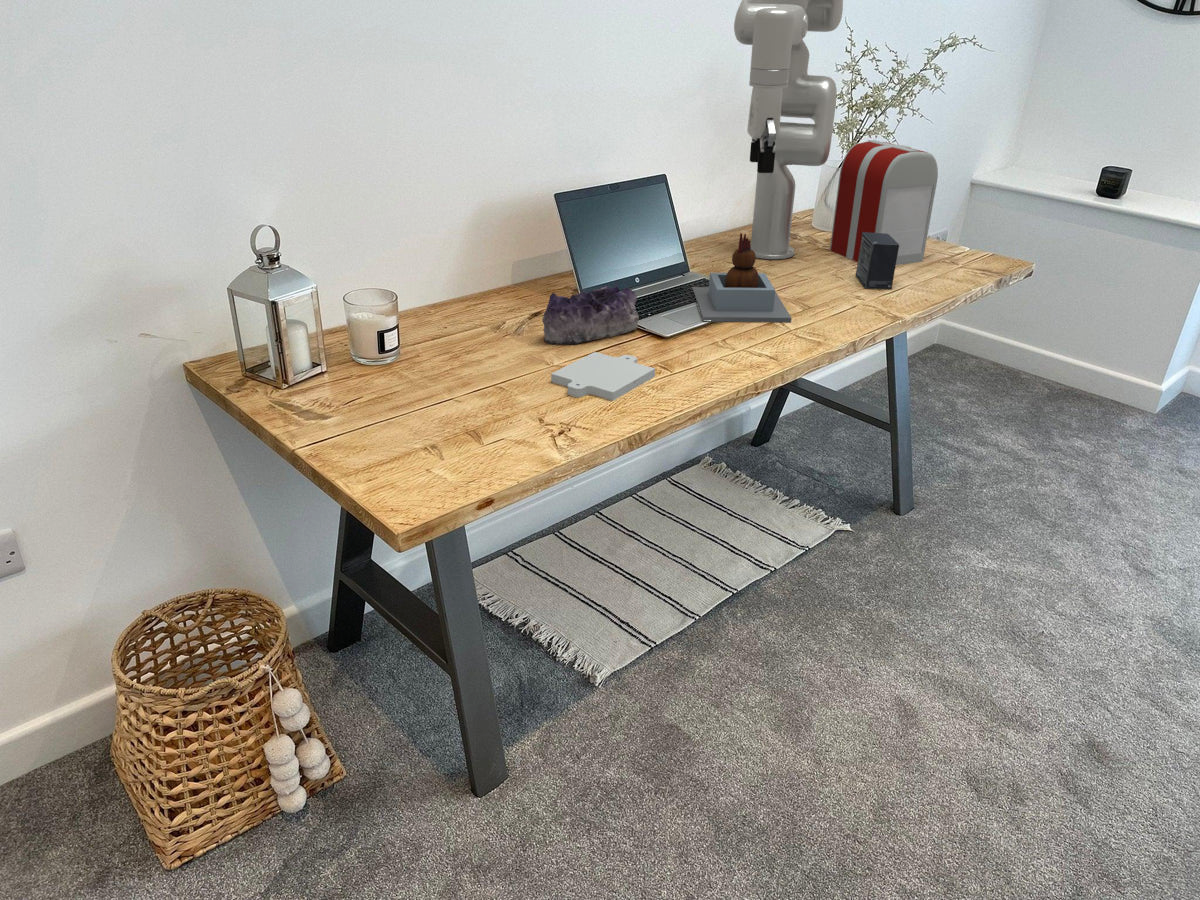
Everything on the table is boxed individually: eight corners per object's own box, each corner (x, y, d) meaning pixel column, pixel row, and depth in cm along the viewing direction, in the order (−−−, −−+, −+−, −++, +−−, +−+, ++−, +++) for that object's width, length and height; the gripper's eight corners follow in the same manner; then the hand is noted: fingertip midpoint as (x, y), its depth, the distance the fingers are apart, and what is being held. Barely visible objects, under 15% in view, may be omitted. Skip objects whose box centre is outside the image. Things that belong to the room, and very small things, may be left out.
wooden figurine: (734, 307, 194) (740, 236, 187) (719, 299, 198) (724, 229, 191) (761, 303, 196) (768, 233, 189) (745, 295, 201) (751, 226, 194)
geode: (567, 355, 172) (560, 302, 168) (532, 345, 180) (526, 294, 176) (650, 329, 182) (646, 279, 179) (614, 320, 191) (609, 272, 187)
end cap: (692, 291, 206) (693, 267, 204) (772, 292, 207) (775, 268, 204) (703, 321, 188) (704, 295, 186) (791, 322, 189) (794, 296, 186)
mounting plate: (604, 408, 152) (604, 397, 151) (542, 388, 158) (542, 378, 157) (662, 374, 165) (662, 364, 164) (602, 357, 171) (603, 347, 170)
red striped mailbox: (879, 244, 245) (895, 137, 233) (924, 261, 231) (945, 149, 218) (827, 249, 239) (841, 141, 227) (871, 268, 225) (889, 153, 212)
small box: (893, 289, 210) (901, 244, 205) (864, 289, 210) (871, 243, 205) (882, 276, 219) (889, 232, 214) (854, 275, 219) (860, 231, 214)
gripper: (743, 71, 189) (736, 158, 197) (757, 84, 173) (749, 177, 182) (780, 72, 189) (772, 158, 197) (796, 84, 174) (787, 177, 182)
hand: (761, 167), depth 189 cm, fingers open, 9 cm apart
